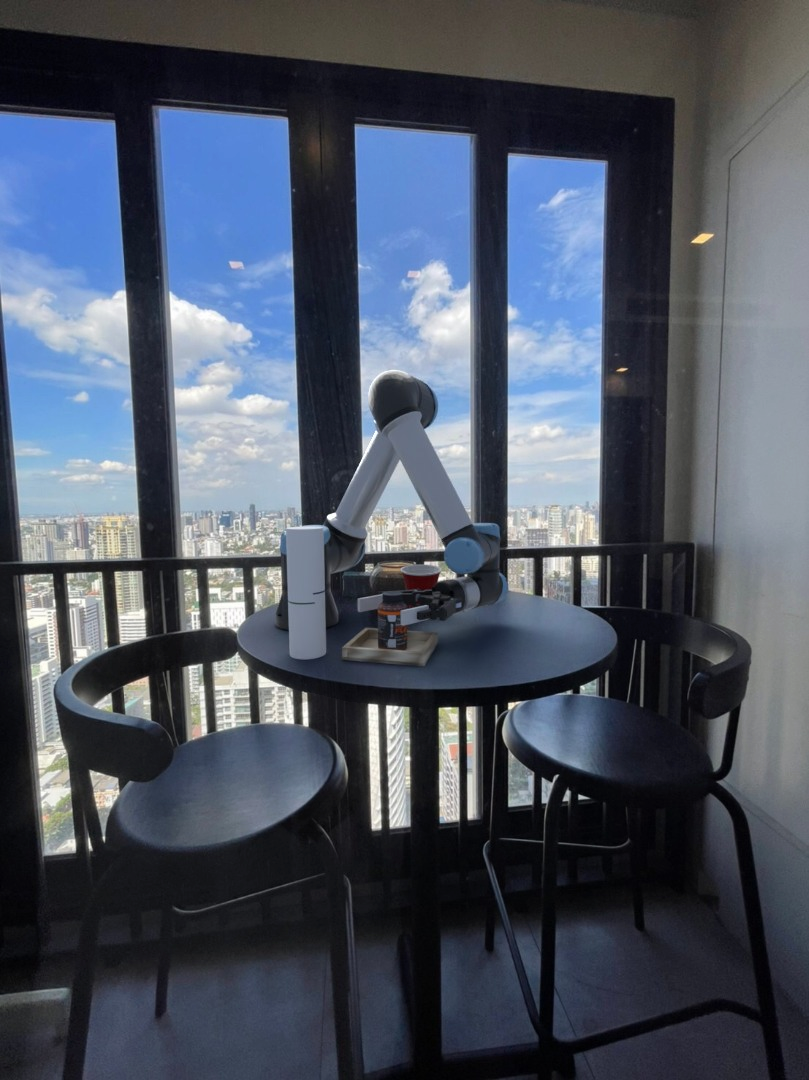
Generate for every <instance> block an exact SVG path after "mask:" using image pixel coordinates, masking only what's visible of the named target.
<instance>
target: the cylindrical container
mask: <svg viewBox="0 0 809 1080" xmlns="http://www.w3.org/2000/svg"><path fill="white" fill-rule="evenodd" d="M285 530H286V549H287V582H288V616H289V630H288V642H289V656H290V657H291V658H292V659H295V660H314V659H318V658H321V657H324V656H326V654H327V628H326V619H325V574H324V528H323V527H298V526H291V527H285Z"/></svg>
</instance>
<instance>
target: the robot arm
mask: <svg viewBox="0 0 809 1080" xmlns="http://www.w3.org/2000/svg"><path fill="white" fill-rule="evenodd" d="M367 402H368V407H369V410H370V413H371V416H372V418H373V422H374V423H373V424H374V426H375V427H374V428H375V432H374V434H373V436H372V438H371V439H370V442H369V444H368V446H367V447H366V450H365V452H364V454H363V456H362V458H361V460H360V463H359V464H358V466H357V468H356V471H355V472H354V474H353V477H352V479H351V481H350V483H349V485H348V487H347V489H346V491H345V493H344V494H343V497H342V498H341V501H340V503H339V505H338V506H337V509H336V511H335V512H333V513H329V514H328V515H327V516H326V518H325V520H324V522H323V524H322V525H321V524H309V525H308V524H307V525H302V526H301V525H299V526H297V527H323V528H324V574H325V619H326V629H327V628H331V627H334V626H335V625H337V624H338V623H339V611H338V608H337V605H336V602H335V599H334V596H333V593H332V589H331V585H332V584H331V574H335V573H339V572H344V571H347V570H350V569H351V568H353V567H355V566H356V565H358V564H359V563H360V562H361V560H362V559H363V557H364V555H365V552H366V544H365V541H366V538H367V537H368V531H367V528H366V527H367V525H368V522H369V521H370V519H371V517H372V515H373V513H374V511H375V509H376V507H377V505H378V503H379V501H380V499H381V497H382V495H383V493H384V491H385V489H386V488H387V485H388V483H389V482H390V480H391V478H392V476H393V474H394V472H395V470H396V467H397V466H398V464H399V462H401V465H402V466H403V468H404V470H405V472H406V474H407V476H408V479H409V480H410V482H411V484H412V486H413V487H414V490H415V493H416V494H417V496H418V498H419V500H420V502H421V504H422V505H423V507H424V510H425V512H426V514H427V516H428V517H429V520H430V522H431V523H432V525H433V527H434V529H435V531H436V533H437V535H438V536H439V539H440V541H441V543H442V545H443V547H444V553H443V558H444V563H445V565H446V566H447V568H448V569H449V570H450V571H451V572H453V573H455V574H457V575H466V576H461V577H454V578H449V579H445V580H438V582H437V583H436V584H435V585H434V587H433V588H432V590H424V591H420V589H413V590H406V589H405V590H396V591H397V592H402V594H403V599H402V600H403V602H404V603H405V604H406V605H407V606H409V605H412V606H413V607H414V608H410V609H409V608H407V609H406V610H401V625H403V626H404V625H407V626H408V625H412V624H416V623H420V622H424V621H428V620H432V621H435V620H437V619H438V618H439V619H438V621H441V622H444V621H446V620H448V619H449V618H450V617H451V616H453V615H454V614H457V613H462V614H464V613H465V612H466V611H469V610H472V609H477V608H481V607H485V606H486V607H487V606H492V605H495V604H497V603H500V602H502V601H503V600H505V598H506V597H507V596H508V593H509V583H508V581H507V578H506V577H505V575H504V574H503V573H501V572H500V551H501V550H500V549H501V548H500V547H501V546H500V544H501V535H500V526H499V525H498V524H497V523H493V522H475V523H474V522H472V519H471V518H470V516H469V513H468V512H467V510H466V508H465V506H464V504H463V502H462V500H461V498H460V497H459V495H458V493H457V491H456V488H455V486H454V485H453V483H452V481H451V479H450V477H449V475H448V473H447V471H446V469H445V468H444V465H443V463H442V462H441V460H440V458H439V456H438V454H437V451H436V450H435V448H434V446H433V445H432V442H431V440H430V438H429V436H428V434H427V432H426V429H427V428H429V427H430V426H431V425H432V424H433V423H434V422H435V420H436V418H437V415H438V411H439V401H438V397H437V395H436V393H435V391H434V390H433V388H432V387H430V385H429V384H427V383H425V381H424V380H420V379H419V378H416V377H414V376H412V375H410V374H409V373H407V372H405V371H403V370H399V369H391V370H390V369H389V370H386V371H384V372H381V373H380V374H378V375H377V376H376V377H375V379H374V380H372V382H371V384H370V386H369V389H368V394H367ZM279 552H280V571H281V572H280V573H281V594H280V595H281V596H280V599H279V602H278V605H277V608H276V611H275V616H274V617H275V618H274V619H275V624H274V625H275V626H276V627H277V628H279V629H281V630H287V631H289V616H288V582H287V549H286V529H285V530H284V531H282V532H281V535H280V544H279ZM384 592H388V590H387V591H384V590H383V591H381V590H379V591H377V594H376V595H375V594H374V595H370V596H366V597H365V596H364V597H359V598H357V612H358V613H362V612H368V611H373V610H378V606H379V604H380V603H382V601H383V599H382V598H383V593H384ZM416 601H418V604H416Z"/></svg>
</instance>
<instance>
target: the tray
mask: <svg viewBox="0 0 809 1080" xmlns="http://www.w3.org/2000/svg"><path fill="white" fill-rule="evenodd" d="M438 644H439V632H437V631H436V632H435V631H422V630H421V631H420V630H408V629H407V648H406V649H404V650H391V649H379V648H378V627H377V628H376V627H364V628H363V629H362V630H361V631H359V633H357V634H356V635H355V636H354V637H353V638H351V639H350V640H348V642H346V643H345V644H344V645H343V646H342V647H341V658H342V659H341V660H342V661H353V662H355V661H356V662H365V663H366V662H367V663H377V664H378V663H379V664H386V665H387V664H389V665H404V666H413V667H425V666H426V664H427V663H428V661H429V659H430V658H431V656H432V654H433V653H434V651H435V650H436V647H437V646H438Z"/></svg>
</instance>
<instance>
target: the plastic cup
mask: <svg viewBox="0 0 809 1080" xmlns="http://www.w3.org/2000/svg"><path fill="white" fill-rule="evenodd" d="M400 572H401V573H402V577H403V581H404V585H405V590H413V589H420V591H424V590H432V588H433V587H434V585H435V584H436V583H437V582H439V578H440V574H441V572H442V567H440V566H437V565H432V564H411V565H405V566H403V567H401V568H400ZM416 604H418V601H416ZM410 608H414V607H413V606H412V605H408V609H410Z"/></svg>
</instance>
